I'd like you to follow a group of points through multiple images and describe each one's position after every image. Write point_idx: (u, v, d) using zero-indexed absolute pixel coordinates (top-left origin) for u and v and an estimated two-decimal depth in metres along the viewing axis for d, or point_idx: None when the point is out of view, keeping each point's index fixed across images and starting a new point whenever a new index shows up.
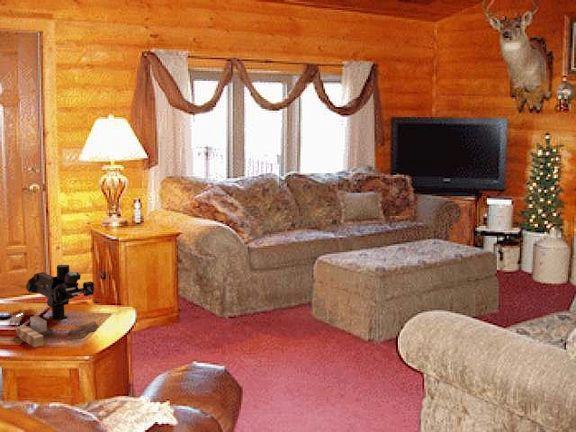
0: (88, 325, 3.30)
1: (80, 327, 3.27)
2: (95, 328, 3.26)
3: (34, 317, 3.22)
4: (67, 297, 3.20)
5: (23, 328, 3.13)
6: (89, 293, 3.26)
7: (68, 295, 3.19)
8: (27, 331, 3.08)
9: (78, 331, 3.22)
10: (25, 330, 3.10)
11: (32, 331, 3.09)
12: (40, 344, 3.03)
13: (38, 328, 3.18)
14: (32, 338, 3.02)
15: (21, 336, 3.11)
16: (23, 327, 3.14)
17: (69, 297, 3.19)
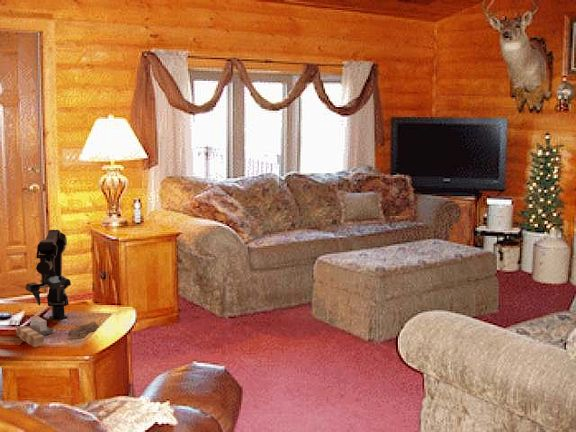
0: (88, 325, 3.30)
1: (80, 327, 3.27)
2: (95, 328, 3.26)
3: (34, 317, 3.22)
4: (35, 298, 3.16)
5: (23, 328, 3.13)
6: (58, 296, 3.23)
7: (37, 300, 3.15)
8: (26, 331, 3.08)
9: (78, 331, 3.22)
10: (25, 330, 3.10)
11: (32, 331, 3.09)
12: (40, 344, 3.03)
13: (38, 328, 3.18)
14: (32, 338, 3.02)
15: (21, 336, 3.11)
16: (23, 327, 3.14)
17: (36, 300, 3.16)
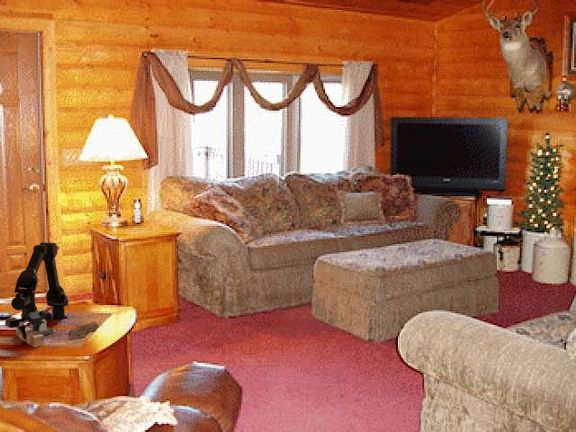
0: (88, 325, 3.30)
1: (80, 327, 3.27)
2: (95, 328, 3.26)
3: None
4: (21, 332, 3.07)
5: None
6: None
7: (22, 334, 3.07)
8: (27, 331, 3.08)
9: (78, 331, 3.22)
10: (25, 330, 3.10)
11: (32, 331, 3.09)
12: (40, 344, 3.03)
13: None
14: (32, 338, 3.02)
15: (21, 336, 3.11)
16: None
17: (22, 335, 3.07)
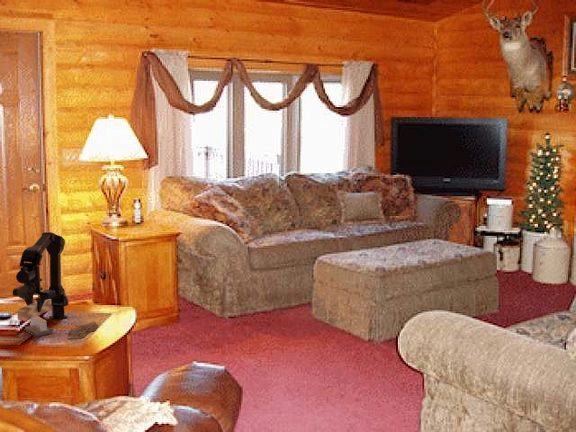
0: (88, 325, 3.30)
1: (80, 327, 3.27)
2: (95, 328, 3.26)
3: (34, 317, 3.22)
4: None
5: None
6: None
7: None
8: (32, 304, 3.15)
9: (78, 331, 3.22)
10: (35, 302, 3.17)
11: (34, 305, 3.14)
12: (22, 318, 3.07)
13: (38, 328, 3.18)
14: None
15: None
16: None
17: None
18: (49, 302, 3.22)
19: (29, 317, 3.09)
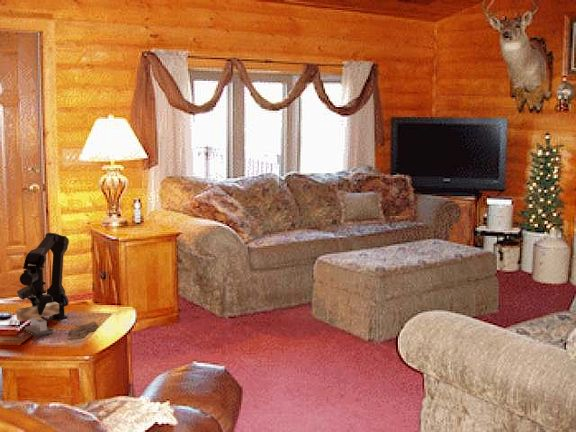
0: (88, 325, 3.30)
1: (80, 327, 3.27)
2: (95, 328, 3.26)
3: None
4: None
5: (50, 303, 3.24)
6: None
7: None
8: (36, 305, 3.20)
9: (78, 331, 3.22)
10: None
11: (36, 307, 3.18)
12: (19, 318, 3.14)
13: (38, 328, 3.18)
14: None
15: None
16: (52, 303, 3.24)
17: None
18: (56, 306, 3.24)
19: (26, 318, 3.15)
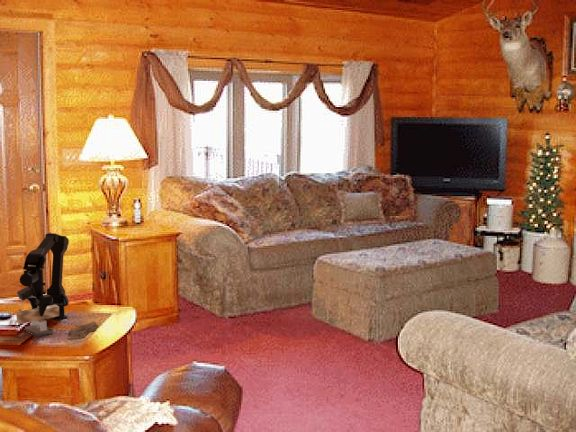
0: (88, 325, 3.30)
1: (80, 327, 3.27)
2: (95, 328, 3.26)
3: None
4: None
5: (50, 306, 3.24)
6: None
7: None
8: (36, 308, 3.21)
9: (78, 331, 3.22)
10: None
11: (36, 310, 3.18)
12: (19, 321, 3.14)
13: (38, 328, 3.18)
14: None
15: None
16: (52, 306, 3.24)
17: None
18: (56, 309, 3.24)
19: (26, 321, 3.15)
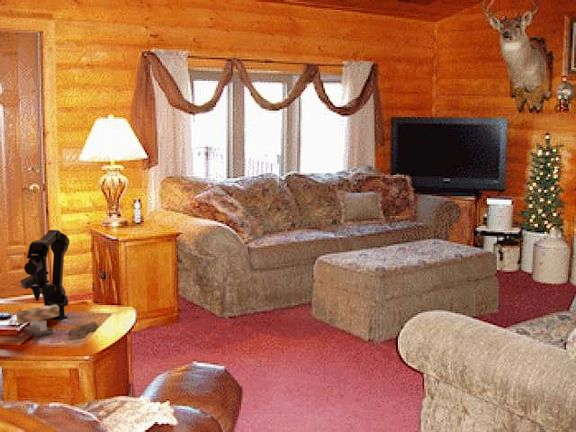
0: (88, 325, 3.30)
1: (80, 327, 3.27)
2: (95, 328, 3.26)
3: None
4: None
5: (50, 306, 3.24)
6: None
7: None
8: (36, 308, 3.21)
9: (78, 331, 3.22)
10: (41, 307, 3.22)
11: (36, 310, 3.18)
12: (19, 321, 3.14)
13: (38, 328, 3.18)
14: None
15: None
16: (52, 306, 3.24)
17: None
18: (56, 309, 3.24)
19: (26, 321, 3.15)
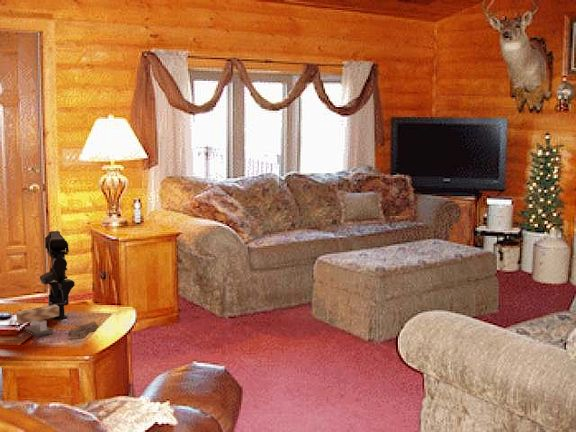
0: (88, 325, 3.30)
1: (80, 327, 3.27)
2: (95, 328, 3.26)
3: None
4: None
5: (50, 306, 3.24)
6: None
7: None
8: (36, 308, 3.21)
9: (78, 331, 3.22)
10: (41, 307, 3.22)
11: (36, 310, 3.18)
12: (19, 321, 3.14)
13: (38, 328, 3.18)
14: None
15: None
16: (52, 306, 3.24)
17: None
18: (56, 309, 3.24)
19: (26, 321, 3.15)
